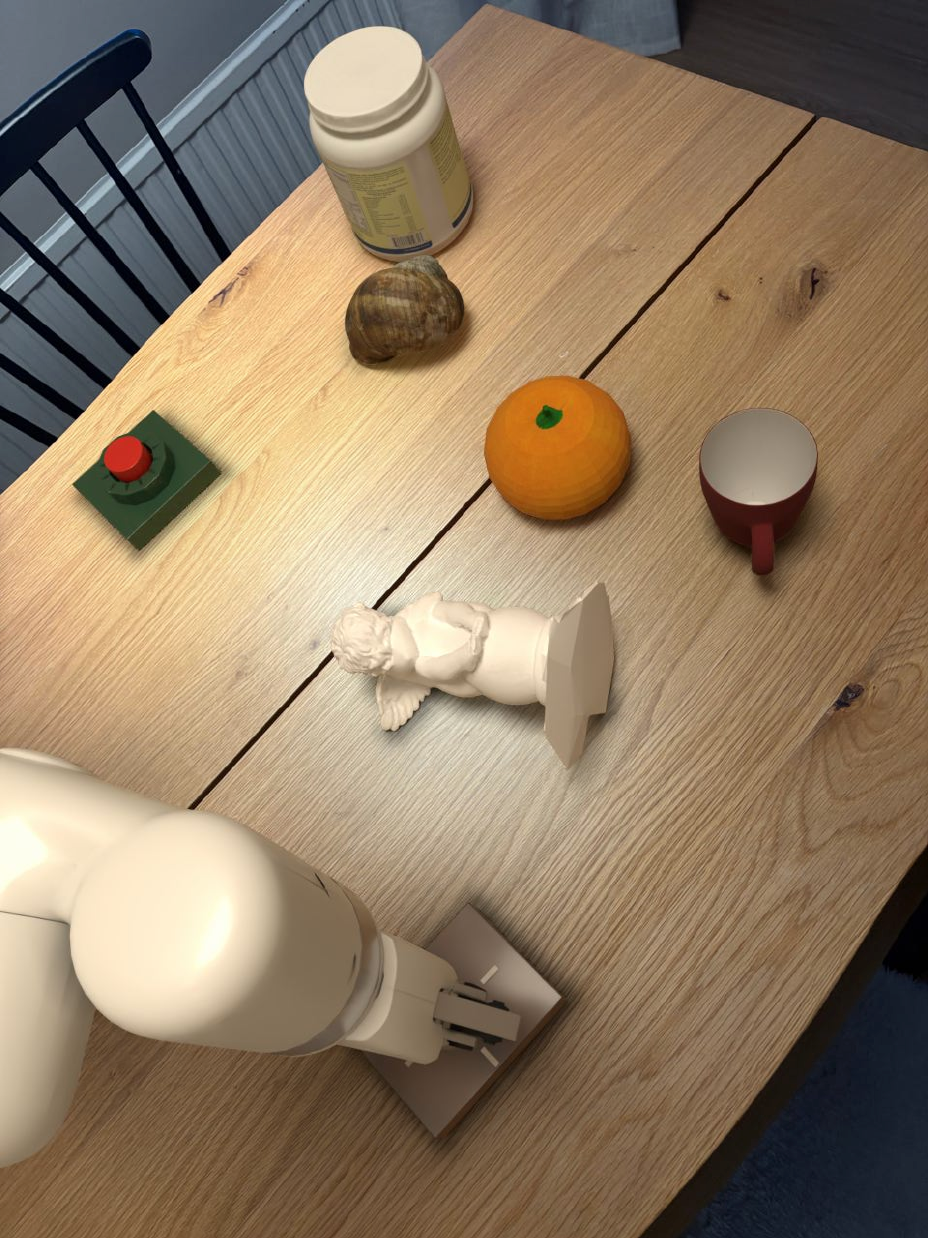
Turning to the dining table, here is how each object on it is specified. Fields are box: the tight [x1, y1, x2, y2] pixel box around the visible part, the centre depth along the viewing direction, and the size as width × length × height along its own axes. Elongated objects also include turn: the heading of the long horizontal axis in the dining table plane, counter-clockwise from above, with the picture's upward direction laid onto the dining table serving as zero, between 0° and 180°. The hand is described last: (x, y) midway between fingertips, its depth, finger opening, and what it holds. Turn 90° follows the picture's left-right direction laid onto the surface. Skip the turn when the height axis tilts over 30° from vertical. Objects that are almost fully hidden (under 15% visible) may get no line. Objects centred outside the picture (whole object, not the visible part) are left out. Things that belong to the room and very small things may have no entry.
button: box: [104, 436, 152, 482], centre depth 96 cm, size 4×4×2 cm
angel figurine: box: [329, 581, 615, 772], centre depth 80 cm, size 14×20×12 cm
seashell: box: [344, 255, 465, 366], centre depth 97 cm, size 11×9×8 cm
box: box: [72, 409, 222, 551], centre depth 98 cm, size 10×9×4 cm
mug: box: [698, 407, 819, 577], centre depth 80 cm, size 11×8×10 cm
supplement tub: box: [303, 25, 474, 263], centre depth 98 cm, size 12×12×17 cm
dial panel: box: [359, 901, 568, 1139], centre depth 74 cm, size 12×9×3 cm
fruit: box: [483, 375, 632, 520], centre depth 86 cm, size 12×12×10 cm
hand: (392, 996), depth 62 cm, fingers open, 9 cm apart
